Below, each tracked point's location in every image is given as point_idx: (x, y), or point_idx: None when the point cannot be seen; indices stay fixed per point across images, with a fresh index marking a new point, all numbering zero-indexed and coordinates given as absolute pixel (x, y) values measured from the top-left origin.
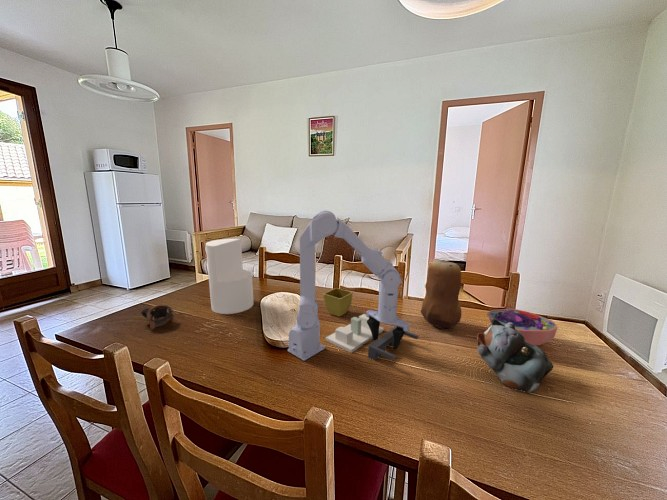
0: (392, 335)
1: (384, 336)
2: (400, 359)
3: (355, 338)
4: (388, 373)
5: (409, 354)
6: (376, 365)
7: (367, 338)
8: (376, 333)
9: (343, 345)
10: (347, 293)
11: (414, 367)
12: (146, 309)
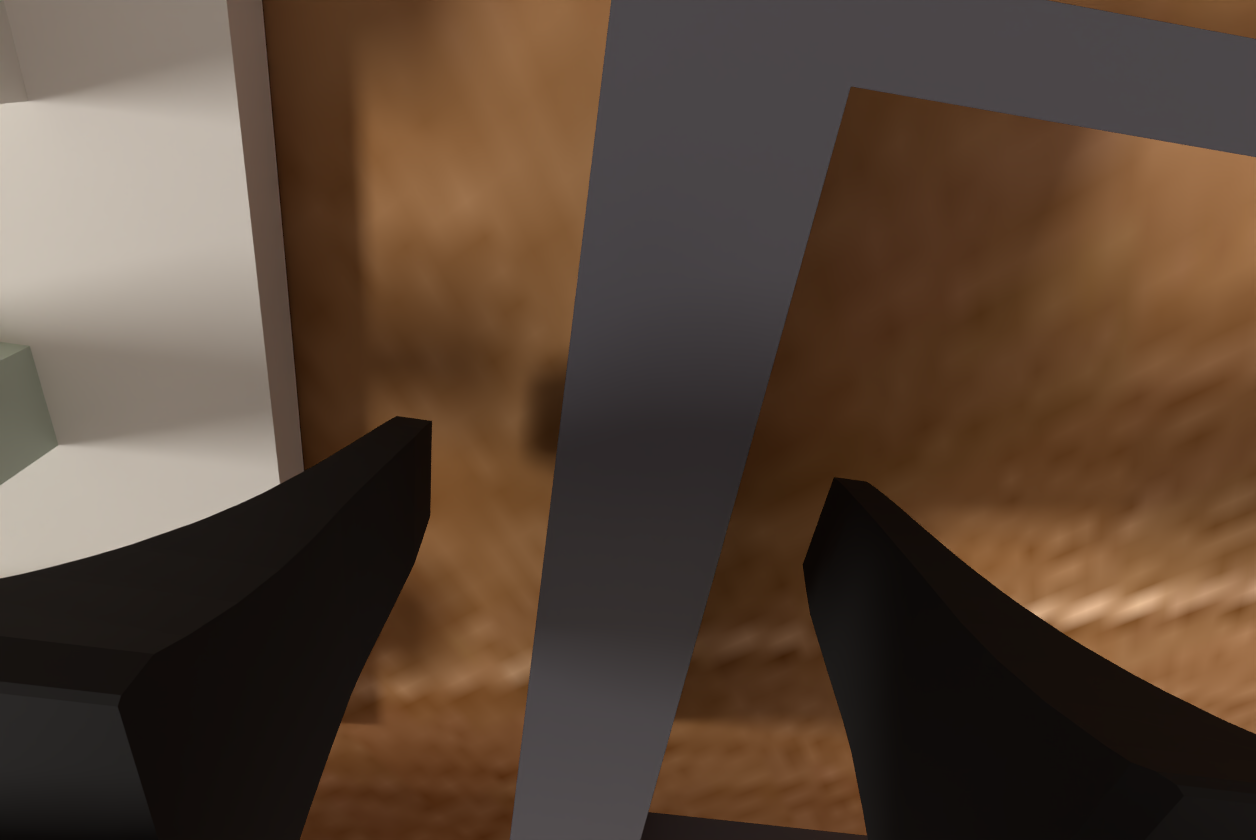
0: (727, 474)
1: (588, 584)
2: None
3: (125, 541)
4: (830, 797)
5: (1024, 408)
6: (678, 761)
7: (264, 450)
8: (382, 545)
9: None
10: None
11: (1100, 622)
12: None
